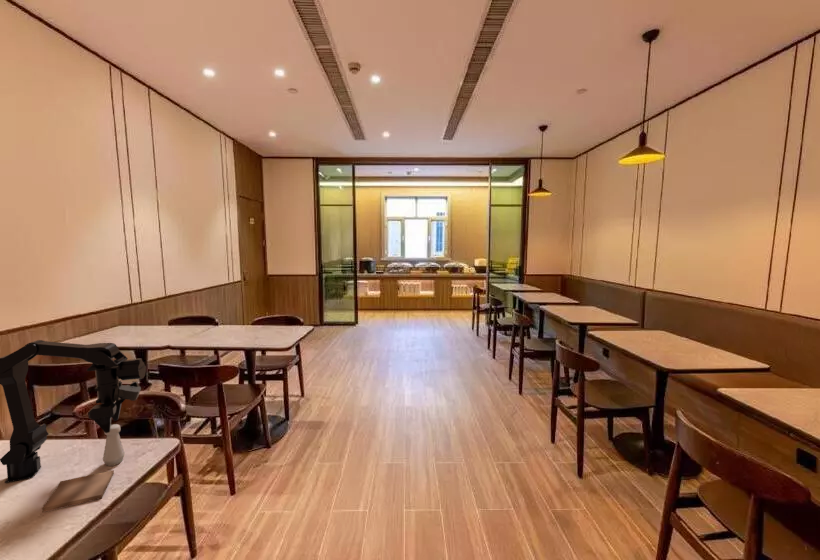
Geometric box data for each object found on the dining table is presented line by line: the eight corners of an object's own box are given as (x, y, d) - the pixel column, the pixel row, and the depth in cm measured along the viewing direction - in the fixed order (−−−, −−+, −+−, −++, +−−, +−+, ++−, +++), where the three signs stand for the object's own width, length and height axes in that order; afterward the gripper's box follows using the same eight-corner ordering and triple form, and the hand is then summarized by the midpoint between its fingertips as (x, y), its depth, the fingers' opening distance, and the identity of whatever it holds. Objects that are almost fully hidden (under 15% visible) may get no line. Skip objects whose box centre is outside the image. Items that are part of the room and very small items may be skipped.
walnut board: (42, 512, 101) (41, 508, 100) (60, 484, 112) (60, 481, 112) (101, 498, 106) (101, 494, 106) (113, 473, 118) (113, 470, 118)
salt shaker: (112, 468, 120) (110, 431, 119) (98, 466, 122) (96, 429, 121) (129, 458, 126) (127, 423, 125) (115, 456, 127) (113, 421, 126)
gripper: (130, 386, 116) (134, 433, 117) (143, 369, 133) (147, 410, 134) (85, 393, 111) (90, 441, 113) (105, 374, 128) (109, 416, 129)
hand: (112, 426), depth 122 cm, fingers open, 9 cm apart
